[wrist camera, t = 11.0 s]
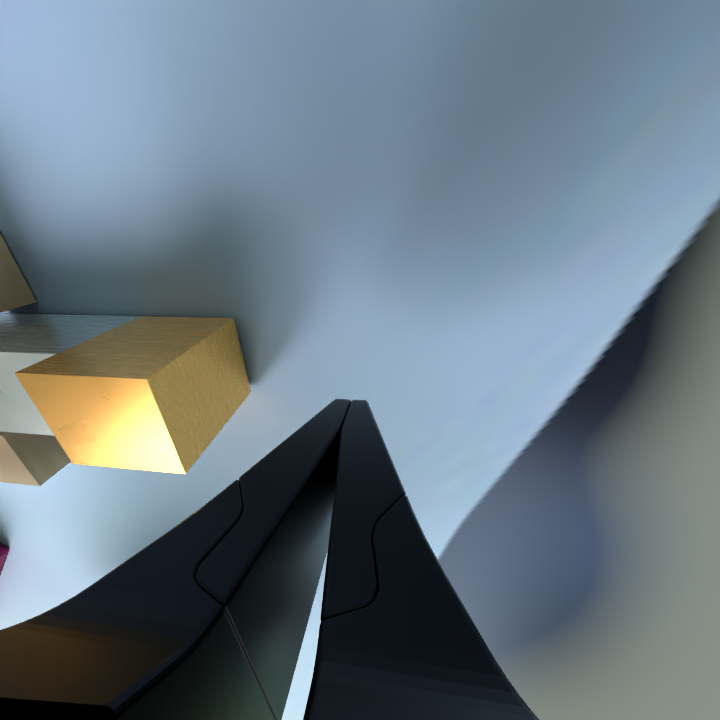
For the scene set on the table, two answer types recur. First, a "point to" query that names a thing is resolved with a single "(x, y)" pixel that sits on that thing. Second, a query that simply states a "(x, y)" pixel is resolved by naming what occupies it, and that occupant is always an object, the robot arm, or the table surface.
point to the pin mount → (21, 450)
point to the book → (3, 556)
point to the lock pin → (121, 385)
